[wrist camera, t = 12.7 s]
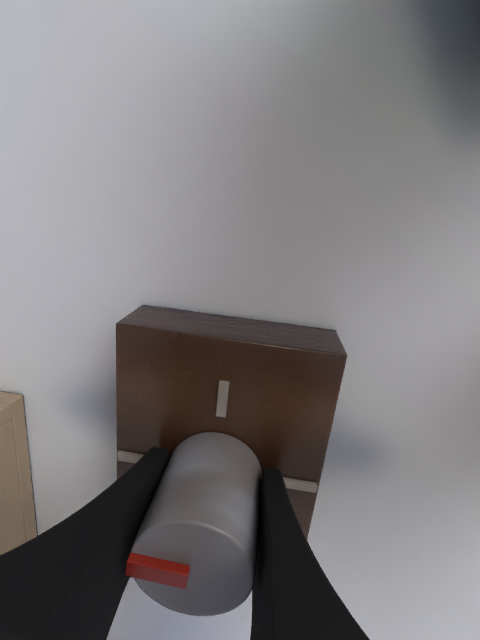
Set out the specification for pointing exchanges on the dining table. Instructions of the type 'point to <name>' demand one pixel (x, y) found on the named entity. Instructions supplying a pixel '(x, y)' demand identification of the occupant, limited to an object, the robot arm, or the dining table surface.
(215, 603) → the grey dial knob
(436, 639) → the dining table surface
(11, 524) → the open wooden box
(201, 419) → the block
